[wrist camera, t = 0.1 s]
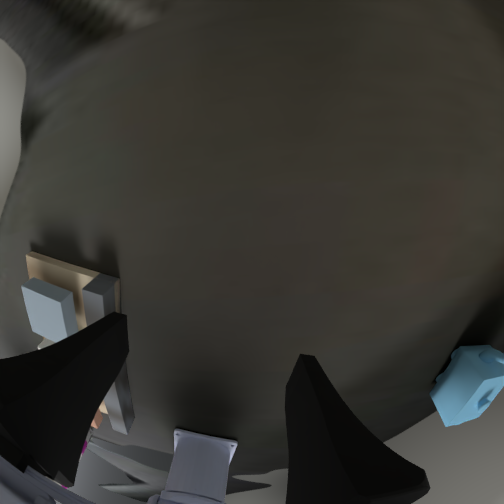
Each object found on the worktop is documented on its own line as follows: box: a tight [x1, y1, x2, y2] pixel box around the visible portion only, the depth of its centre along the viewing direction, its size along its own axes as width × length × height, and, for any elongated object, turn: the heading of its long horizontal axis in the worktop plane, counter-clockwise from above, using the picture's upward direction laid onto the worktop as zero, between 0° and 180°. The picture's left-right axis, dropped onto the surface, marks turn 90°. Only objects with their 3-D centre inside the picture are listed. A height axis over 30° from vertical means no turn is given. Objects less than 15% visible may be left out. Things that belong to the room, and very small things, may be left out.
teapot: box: [429, 345, 504, 427], centre depth 20 cm, size 12×6×8 cm, turn 171°
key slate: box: [22, 277, 79, 343], centre depth 19 cm, size 5×5×2 cm
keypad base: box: [26, 251, 135, 435], centre depth 23 cm, size 21×11×3 cm, turn 168°
